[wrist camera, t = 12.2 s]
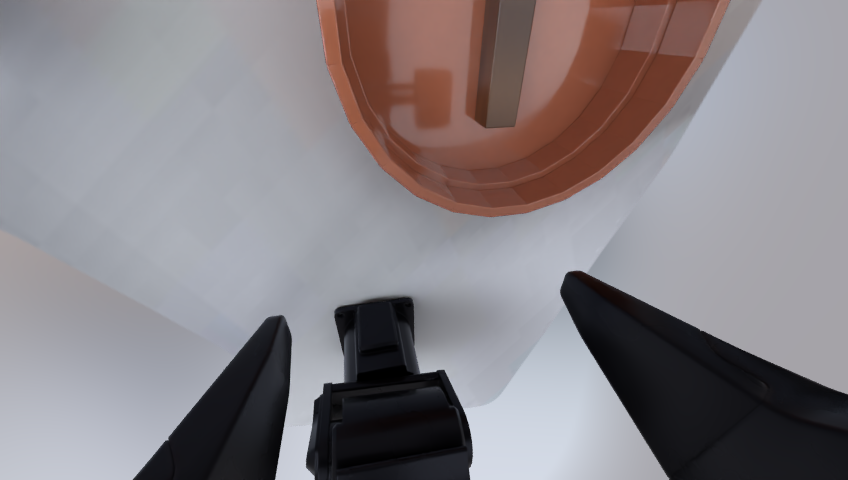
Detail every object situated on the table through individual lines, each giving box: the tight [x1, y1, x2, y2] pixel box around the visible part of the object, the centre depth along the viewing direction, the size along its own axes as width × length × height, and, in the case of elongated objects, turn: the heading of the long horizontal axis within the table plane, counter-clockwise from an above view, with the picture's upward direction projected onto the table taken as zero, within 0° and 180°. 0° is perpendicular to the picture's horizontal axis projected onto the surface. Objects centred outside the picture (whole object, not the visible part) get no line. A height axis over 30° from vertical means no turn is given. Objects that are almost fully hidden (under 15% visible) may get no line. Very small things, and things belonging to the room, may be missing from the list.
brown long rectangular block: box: [475, 0, 536, 129], centre depth 15 cm, size 9×2×2 cm, turn 0°
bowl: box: [316, 0, 730, 217], centre depth 14 cm, size 17×17×5 cm
